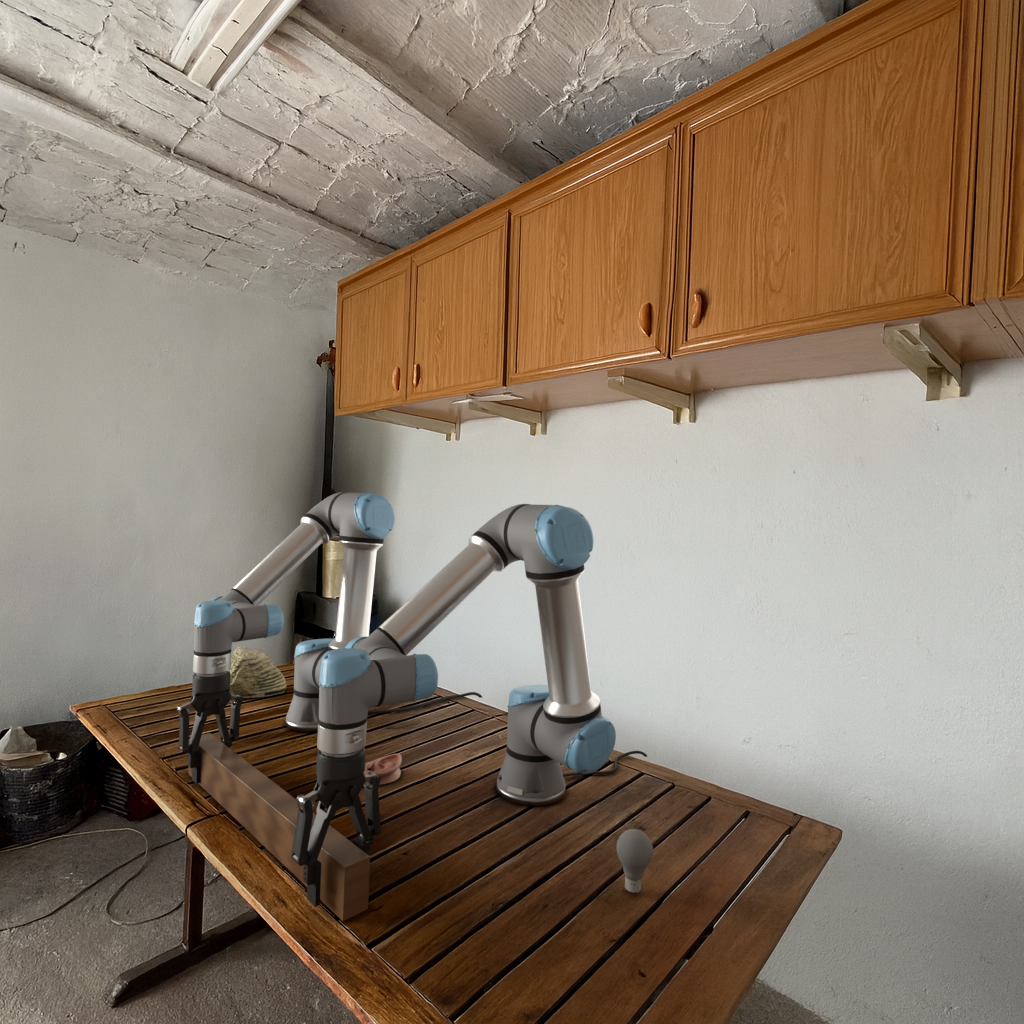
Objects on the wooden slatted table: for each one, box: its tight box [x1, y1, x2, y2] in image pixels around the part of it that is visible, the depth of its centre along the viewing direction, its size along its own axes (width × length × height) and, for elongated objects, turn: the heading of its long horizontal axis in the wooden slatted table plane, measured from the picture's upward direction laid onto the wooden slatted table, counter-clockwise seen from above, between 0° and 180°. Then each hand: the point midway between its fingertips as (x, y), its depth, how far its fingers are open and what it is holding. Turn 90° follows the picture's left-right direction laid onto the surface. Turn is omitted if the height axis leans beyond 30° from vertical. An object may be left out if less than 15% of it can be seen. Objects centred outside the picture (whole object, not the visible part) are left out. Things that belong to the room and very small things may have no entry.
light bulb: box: [615, 828, 654, 894], centre depth 106 cm, size 6×6×10 cm
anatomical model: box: [364, 753, 403, 786], centre depth 144 cm, size 13×4×12 cm
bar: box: [187, 732, 371, 922], centre depth 120 cm, size 66×4×8 cm, turn 45°
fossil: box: [229, 646, 288, 699], centre depth 198 cm, size 9×18×15 cm, turn 132°
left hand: (208, 777), depth 139 cm, fingers closed on bar, 4 cm apart
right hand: (336, 891), depth 101 cm, fingers open, 7 cm apart
